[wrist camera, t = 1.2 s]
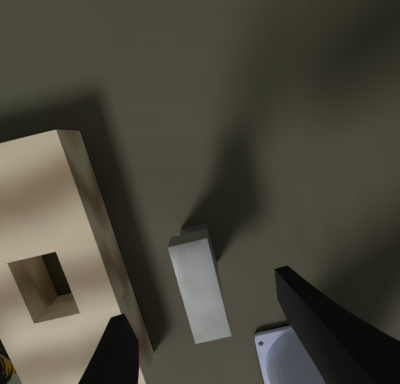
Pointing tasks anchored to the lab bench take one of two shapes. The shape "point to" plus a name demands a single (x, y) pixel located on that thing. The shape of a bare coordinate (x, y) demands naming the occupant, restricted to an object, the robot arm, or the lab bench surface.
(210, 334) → the grey rectangular prism
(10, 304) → the beige slab
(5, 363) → the medicine bottle
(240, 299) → the lab bench surface
